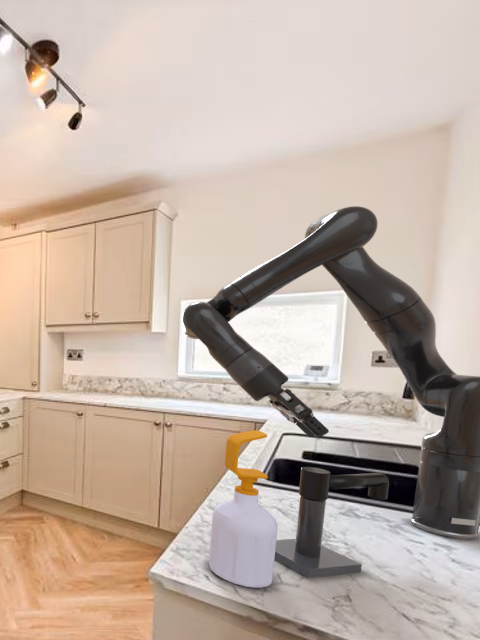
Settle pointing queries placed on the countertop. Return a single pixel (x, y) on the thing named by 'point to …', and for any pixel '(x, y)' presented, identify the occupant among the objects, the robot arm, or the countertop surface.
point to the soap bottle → (243, 526)
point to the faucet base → (314, 564)
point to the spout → (340, 483)
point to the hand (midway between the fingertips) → (319, 434)
